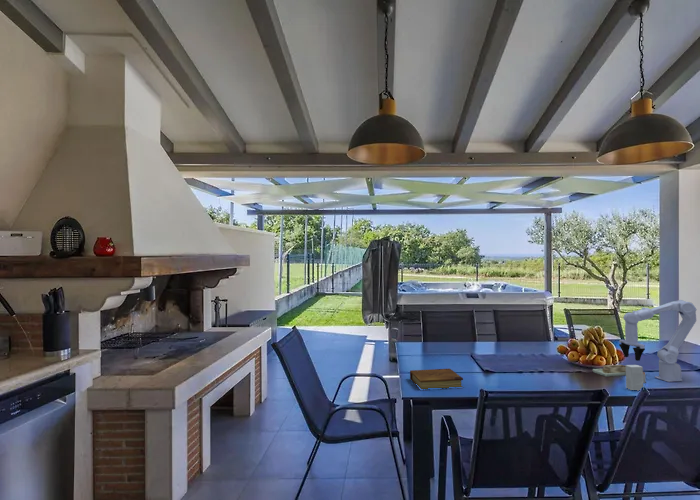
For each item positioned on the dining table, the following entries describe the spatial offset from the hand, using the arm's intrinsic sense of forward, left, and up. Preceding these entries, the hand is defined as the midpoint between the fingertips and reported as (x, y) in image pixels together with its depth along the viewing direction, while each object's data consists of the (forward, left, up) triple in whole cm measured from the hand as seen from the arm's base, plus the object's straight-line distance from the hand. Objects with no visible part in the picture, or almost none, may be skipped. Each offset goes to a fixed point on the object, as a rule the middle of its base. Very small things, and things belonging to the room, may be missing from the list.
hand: (631, 358), depth 222 cm
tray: (+5, -7, -10) cm, 13 cm away
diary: (+112, -8, -11) cm, 113 cm away
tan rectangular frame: (+4, -7, -9) cm, 12 cm away
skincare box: (+17, +19, -10) cm, 27 cm away
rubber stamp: (+3, +10, -10) cm, 14 cm away
